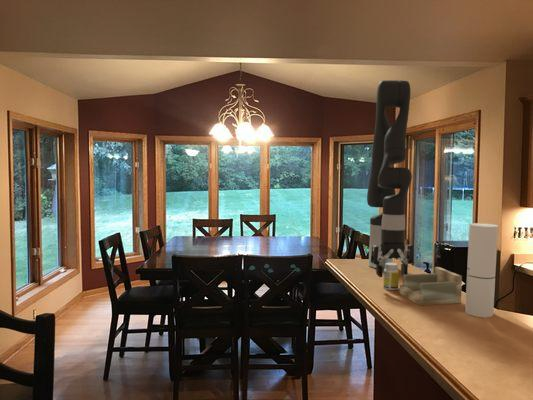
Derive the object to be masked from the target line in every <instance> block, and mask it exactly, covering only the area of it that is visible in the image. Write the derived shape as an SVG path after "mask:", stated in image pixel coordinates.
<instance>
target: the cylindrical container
mask: <svg viewBox="0 0 533 400" xmlns="http://www.w3.org/2000/svg"><path fill="white" fill-rule="evenodd" d="M468 225H469V227H468V228H469V229H468V244H467V247H468V248H467V265H466V266H467V269H466V284H465V285H466V289H465V290H466V291H465V307H464V309H465V311H464V312H465V313H466V315H469V316H472V317H478V318H491V317H493V316H494V309H495V307H494V306H495V289H496V270H497V254H498V253H497V252H498V251H497V250H498V238H499V237H498V233H499V225H498V224H493V223H483V222H482V223H481V222H480V223H479V222H474V223H473V222H471V223H469V224H468Z"/></svg>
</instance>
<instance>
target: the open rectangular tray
mask: <svg viewBox="0 0 533 400" xmlns="http://www.w3.org/2000/svg"><path fill="white" fill-rule="evenodd" d="M433 268H434V269H433V272H432V273H415V274H413V273H411V274H410V273H409V274H408V273H407V274H406V275H403V277H402V278H403V283H402V284H400V285H399V295H401V296H403V297H405V298H407V299H408V300H410V301H411V300H412V302H413V303H415V304H417V305H418V306H430V305H431V306H432V305H449V304H461V303H462V286H463V285H462V284H463V275H460V274H458V273H455V272H452V271H450V270H447V269H445V268H443V267H440V266H435V267H433Z"/></svg>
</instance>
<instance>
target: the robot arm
mask: <svg viewBox="0 0 533 400" xmlns="http://www.w3.org/2000/svg"><path fill="white" fill-rule="evenodd" d="M410 102H411V85H410V82H409V81H408V80H399V79H398V80H397V79H396V80H392V79H391V80H381V81H380V82H379V83H378V85H377V91H376V102H375V103H376V106H375V107H376V109H375V126H374V133H373V139H372V140H373V141H372V142H373V143H372V149H371V153H372V154H371V166H370V173H369V174H370V175H369V182H368V186H367V187H368V188H367V193H366V202H367V205H368V206H369V207H370V208H382V211H381V213H378V214H375V215H373V216H371V217H370V220H369V245H368V247H369V250H368V266H369V267H371V268H373V269H375V273H376V275H377V277H379V278H383V275H384V269H386V268H385V263H393V259H397V260H399V261H400V262H401V264H400V275H401V276H403V275H408V268H409V264H413V263H414V261H415V260H414V258H415V257H414V245H412V244H409V243H407V244H405V241H406V240H405V239H406V214H405V213H406V211H405V210H406V199H407V194H408V191H409V188H410V186H411V184H412V183H411V182H412V180H413V179H412V177H413V174H412V171H411V170H410V169H409V168H408V167H405V166H404V167H397V166H396V167H393V165H396V164H400V163H402V162H404V161H405V160H406V156H407V155H406V153H407V151H406V150H407V147H406V145H407V144H406V143H407V142H406V140H407V138H406V137H407V127H408V121H409V113H410V112H409V111H410ZM386 108H399V110H398V111H399V112H398V114H397V117H396V118H395V120H394V121H393V122H392V124H391V123H390V121H389V119H388V116H387V113H386ZM391 166H392V167H391ZM396 190H398V192H396ZM404 251H406V253H405V254H406V255H405V254H404Z"/></svg>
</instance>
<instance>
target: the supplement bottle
mask: <svg viewBox="0 0 533 400" xmlns="http://www.w3.org/2000/svg"><path fill="white" fill-rule="evenodd" d="M398 265H399V264H398V263H396V262H392V263H385V268H386V269H383V289H385V290H388V291H398V289H399V279H400V278H399V275H400V271H399V269H398V268H399V267H398Z"/></svg>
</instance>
